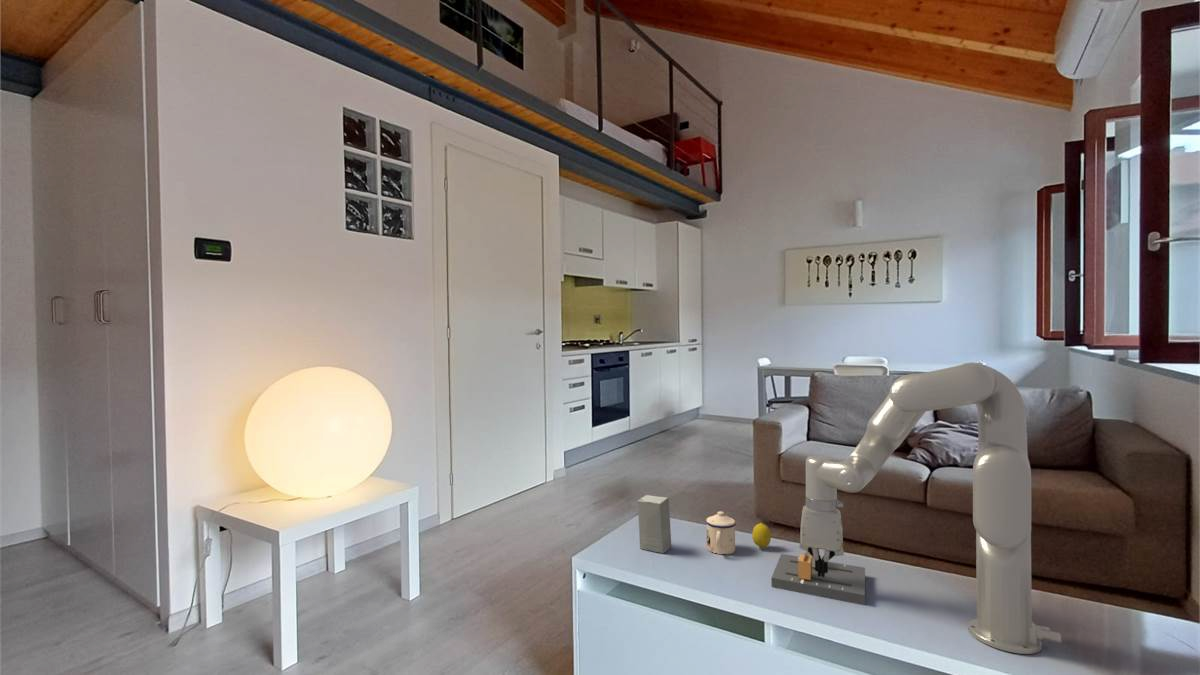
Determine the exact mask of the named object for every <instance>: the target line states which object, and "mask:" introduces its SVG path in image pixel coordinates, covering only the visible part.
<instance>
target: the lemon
mask: <svg viewBox="0 0 1200 675" xmlns="http://www.w3.org/2000/svg"><path fill="white" fill-rule="evenodd" d="M771 538H772V533H771V530H770V528H769V526H768V525H766V524H764V523H763V522H759V523H757V524H756V525H754V526H753V529H752V540H753V543H754V544H755V545H756V546H757V547H759V549H764V548H766V547H767V546H769V545H770V543H771Z"/></svg>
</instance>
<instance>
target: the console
mask: <svg viewBox="0 0 1200 675" xmlns="http://www.w3.org/2000/svg"><path fill="white" fill-rule="evenodd" d="M799 557H800V556H797V555H793V554H786V553H781V554H780V555H779V559H778V561H777V562H776V563H777V564H776V565H775V568H774V571H773V573H772V576H771V578H770V579H771V588H776V589H781V590H786V591H789V592H790V591H791V592H795V593H801V594H805V595H811V596H817V597H821V598H827V599H832V600H836V601H837V600H838V601H841V602H842V601H843V602H846V603H847V602H848V603H853V604H858V605H862V604H863V605H862V606H865V605H866V568H865V567H863V566H857V565H851V564H844V563H840V562H834V561H828V573H825V576H824V577H822V576H818V571H815V567H812V577H811V580H807V579H801V578H798V560H799Z"/></svg>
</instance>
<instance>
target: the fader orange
mask: <svg viewBox="0 0 1200 675" xmlns="http://www.w3.org/2000/svg"><path fill="white" fill-rule="evenodd" d="M798 557H799V560H798V578H801V579H807V580H811V577H812V556H810V555H807V553H806V552H805V554H803V553H800V554H799V556H798Z"/></svg>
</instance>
